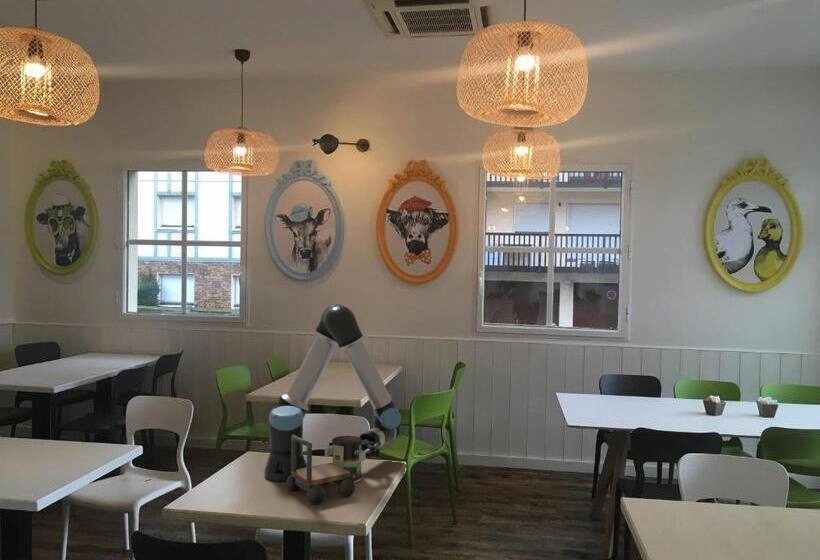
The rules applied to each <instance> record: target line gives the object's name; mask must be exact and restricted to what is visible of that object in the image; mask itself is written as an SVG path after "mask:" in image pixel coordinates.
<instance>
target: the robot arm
mask: <svg viewBox="0 0 820 560" xmlns="http://www.w3.org/2000/svg"><path fill="white" fill-rule="evenodd" d="M314 333H315V339H314V341H313V343H312V345H311V346H310V348H309V350H308V352H307V354H306V356H305V357H304V359H303V361H302V364H301V365H300V367H299V369H298V371H297V373H296V374H295V377H294V379H293V381H292V382H291V384H290V386H289V388H288V390H287V392H285V393H284V394H281V395H280V397H279V398H278V401H277V402H276V404H275V405H274V406H273V408H271V410H270V412H269V415H268V421H269V422H268V423H269V454H268V457H267V460H266V464H265V467H264V475H263V476H264V477H265V479H267V480H270V481H275V482H286V480H287V478H288V476H289V475H290V474H291V436H292V435H295V436H297V437H299V438H301V439H303V440H304V438H303V437H304V434H303V433H304V432H303V431H304V429H303V426H304V425H303V423H304V418H305V417H306V415H307V413H308V410H309V406H308V402H309V400H310V399H311V396H312V394H313V393H314V391H315V388H316V387H317V385H318V383H319V381H320V379H321V377H322V375H323V373H324V371H325V369H326V368H327V366H328V364H329V362H330V360H331V358H332V356H333V354H334V352H335V350H336V348H337V347H338V348H339V349H342V350H343V351H344V353H345V355H346V357H347V360H348V361H349V363H350V365H351V367H352V369H353V371H354V373H355V374H356V376H357V379H358V381H359V382H360V384H361V385H360V386H362V389H363V390H364V392H365V394H366V396H367V398H368V400H369V403H370V404H371V406H372V410H373V423H372V424H373V425H372V426H373V427H372V428H371V429H369V430H367V431H365V432H362V433H361V434H360V436H359V437H360V438H361V439H362V442H361V453H359V461H360V462H361V463H362V462H363V461H365V460H368V459H369V458H370V457H374V456H375V457H376V458H379V457H380V451H381V450H382V447H383V446H386V445H388V444H390V443H391V442H393V441H394V440H395V438H396V437H397V432H398V431H397V427H399V426H400V424H401V421H402V417H401V413H400V411H399V410H398V408H397V406H396V405H395V403H394V401H393V395H391V394H390V393H389V391H388V389H387V386H386V385H385V383H384V381H383V379H382V377H381V375H380V372H379V371H378V369H377V367H376V365H375V362H374V361H373V359H372V357H371V355H370V353H369V351H368V349H367V346H366V345H365V343H364V342H363V337H364V335H363V333H362V331H361V329H360V326H359V324H358V321H357V318H356V315H355V313H354V312H353V311H352V309H350V308H348V307H347V306H345V305H342V304H340V303H339V304H337V303H335V304H332V305H329V306H327V308H325V309H324V310H323V312H322V314H321V316H320V320H319V323H318V324H317V326H316V327H315V330H314ZM328 445H329V446H328V447H326V448H324V457H330V456H331V455H333V442H332V441H331V442H329V444H328ZM303 446H304V445H303V444H301V443H299V442H297V441H296V469H301V468H306V467H307V460H306V458H305V455H304V452H303V451H304V450H303V449H304V448H303Z"/></svg>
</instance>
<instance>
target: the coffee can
mask: <svg viewBox="0 0 820 560" xmlns="http://www.w3.org/2000/svg"><path fill="white" fill-rule="evenodd" d="M331 442H333V454H332V464H334V465H336V466H338V467H340V468H342V469H344V470H346V471H348V472H350V478H345V479H350V480H352V481H353V482H354V483H355V484H356V483H358V482H361V480H362V461H361V462H360V461H359V453H361V452H362V450H361V442H362V439H361V438H360V436H356V435H340V436H336V437H333V438H332V441H331Z"/></svg>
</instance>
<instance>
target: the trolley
mask: <svg viewBox="0 0 820 560" xmlns="http://www.w3.org/2000/svg"><path fill="white" fill-rule="evenodd" d="M296 441H297V442H299V443H301V444H303V446H305V447H306V464H307V467H306V468H301V469H296ZM312 460H313V443H312V442H310V441H308V440H305V439H304V438H303V439H301V438H299V437H297V436H295V435H292V436H291V474H290V475H289V476H288V478H287V480H286V481H285V485H286V488H288V489H289V490H290V491H292V492H297V491H300V489H302V490H304V491H305V492H306V499H307V501H308V502H309V503H311V504H312V505H316V504H317V505H319V504H322V502H323V501H324V499H325V497H326V491H325V488H324V487H322V486H321V485H323V486H326V485H328V484H330V483H333V484H334V485H337V492H338V494H339V496H342V497H344V498H346V497H347V498H349V497H351V496H352V495H353V494H354V492H355V490H356V483H354V482H353V481H352V480H350V479H345V478H350V472H348V471H346V470H344V469H342V468H340V467H338V466H336V465H334V464H333V462H327V463H323V464H318V465H313V463H312V462H313V461H312ZM325 484H326V485H325Z"/></svg>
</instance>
